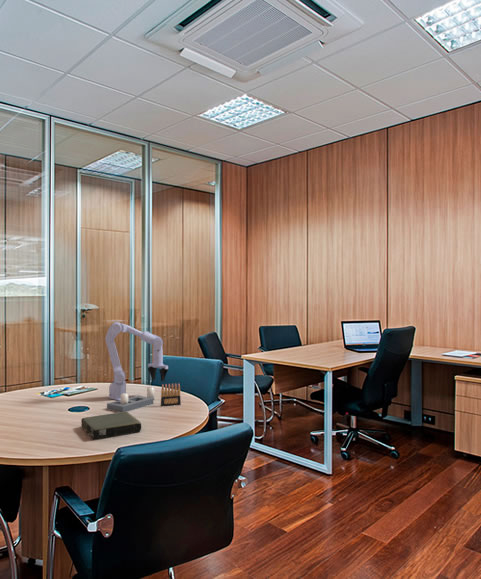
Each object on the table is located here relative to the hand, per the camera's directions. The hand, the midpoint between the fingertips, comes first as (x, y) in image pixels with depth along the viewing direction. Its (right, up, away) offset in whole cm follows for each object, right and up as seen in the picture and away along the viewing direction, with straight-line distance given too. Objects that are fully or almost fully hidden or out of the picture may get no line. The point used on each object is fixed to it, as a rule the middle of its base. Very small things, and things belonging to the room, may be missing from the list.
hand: (158, 380), depth 258 cm
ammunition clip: (+11, -10, -20) cm, 25 cm away
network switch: (-9, -10, -63) cm, 65 cm away
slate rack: (-10, -9, -23) cm, 27 cm away
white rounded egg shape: (-3, -10, -8) cm, 13 cm away
